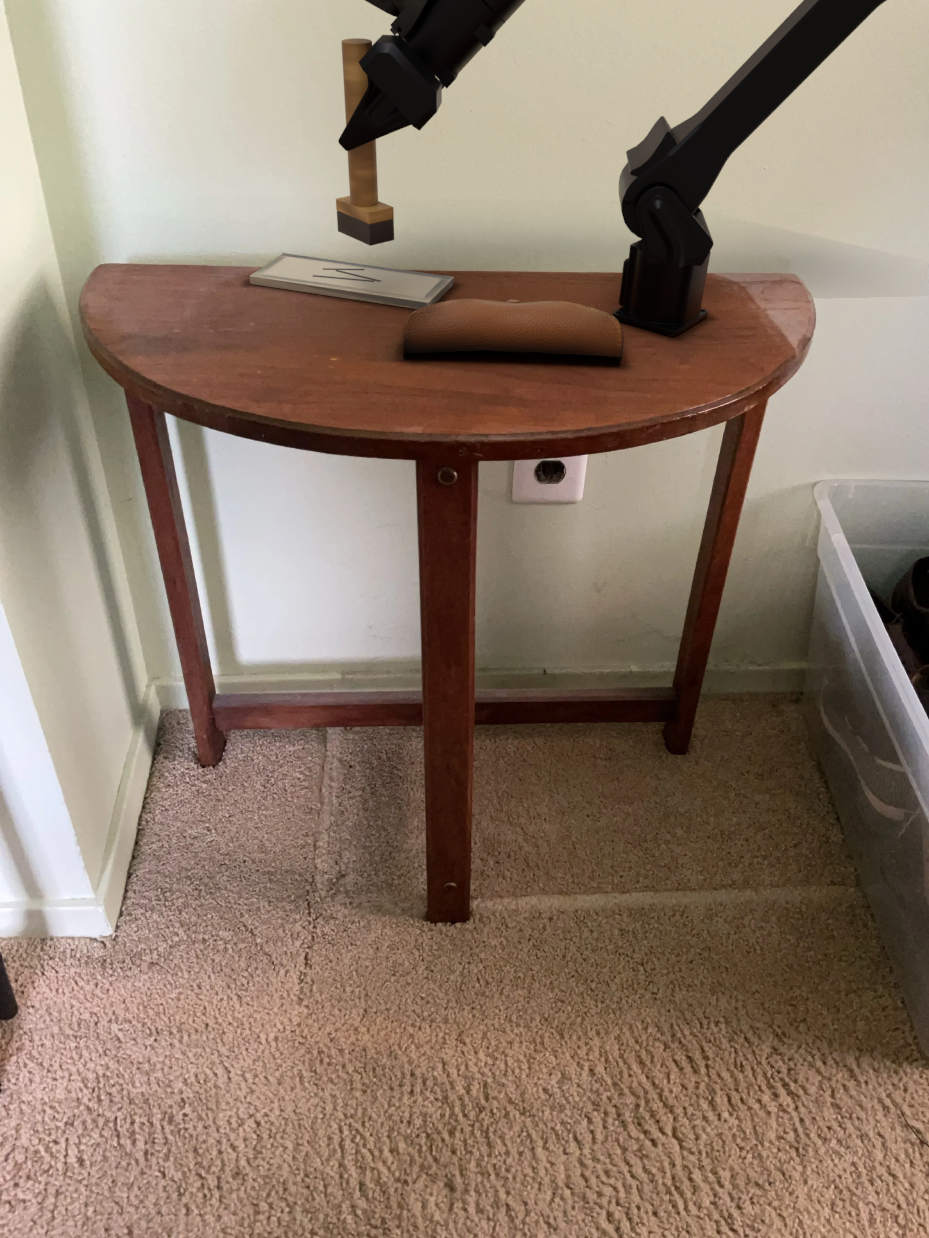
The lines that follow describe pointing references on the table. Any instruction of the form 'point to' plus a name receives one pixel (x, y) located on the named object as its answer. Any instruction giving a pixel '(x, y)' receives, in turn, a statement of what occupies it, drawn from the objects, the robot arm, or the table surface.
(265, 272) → the board
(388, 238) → the tan piece
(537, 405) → the table surface
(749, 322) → the table surface
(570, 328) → the sunglasses case
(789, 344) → the table surface
